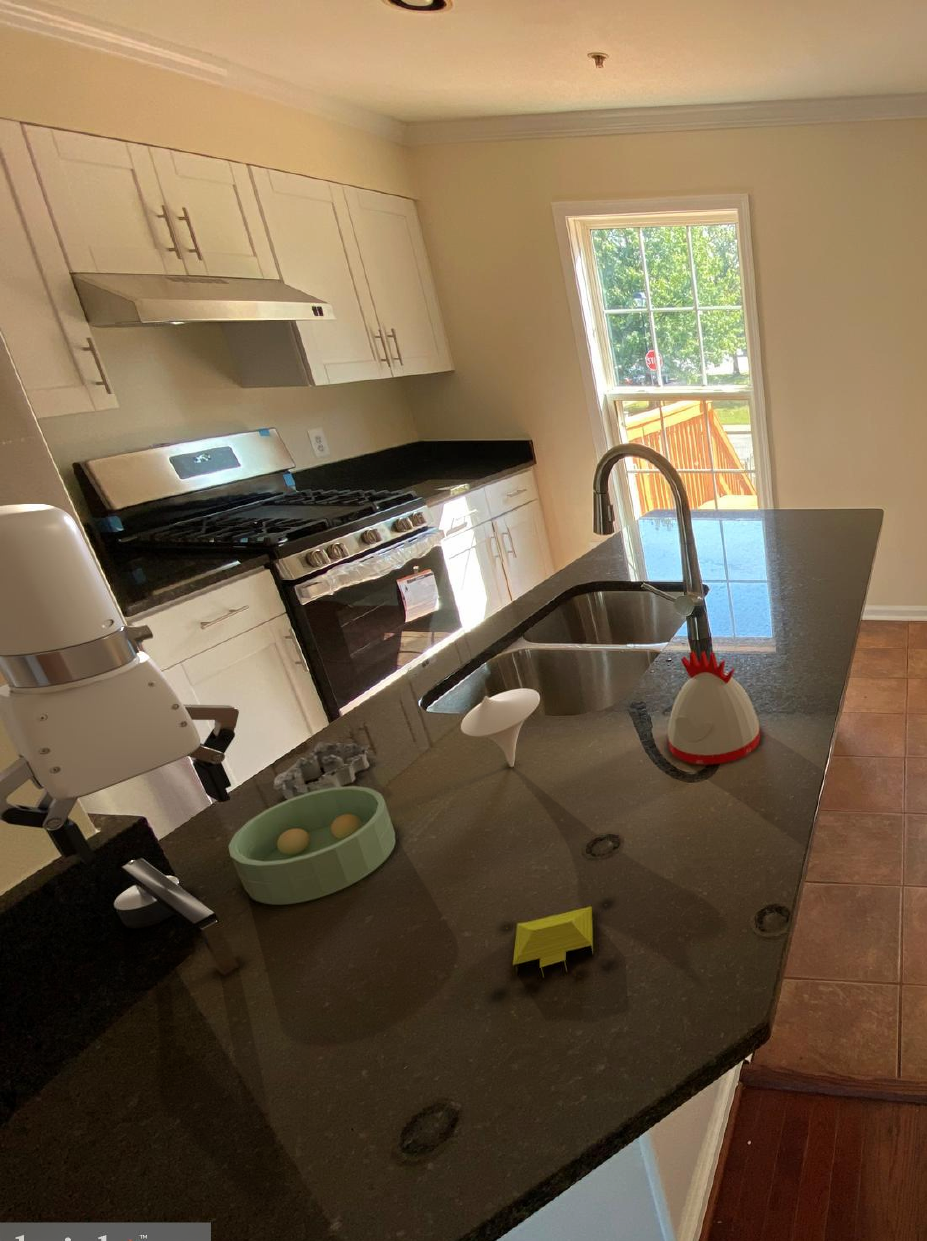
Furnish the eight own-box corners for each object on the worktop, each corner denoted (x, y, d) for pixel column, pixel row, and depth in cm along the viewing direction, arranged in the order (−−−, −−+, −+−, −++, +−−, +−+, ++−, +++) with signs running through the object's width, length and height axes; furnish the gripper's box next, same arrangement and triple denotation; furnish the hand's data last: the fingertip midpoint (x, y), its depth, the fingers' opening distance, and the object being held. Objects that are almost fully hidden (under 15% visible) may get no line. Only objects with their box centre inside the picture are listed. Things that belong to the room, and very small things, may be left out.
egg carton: (331, 805, 92) (321, 779, 90) (273, 805, 92) (262, 779, 90) (379, 760, 102) (372, 736, 100) (327, 760, 102) (318, 736, 100)
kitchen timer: (696, 713, 116) (688, 630, 110) (773, 725, 113) (769, 640, 107) (651, 756, 104) (640, 665, 98) (736, 771, 100) (729, 678, 94)
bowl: (220, 876, 79) (203, 838, 77) (354, 809, 91) (342, 774, 89) (287, 922, 73) (270, 882, 71) (421, 844, 85) (410, 807, 83)
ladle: (115, 917, 74) (88, 868, 71) (175, 888, 78) (151, 840, 75) (199, 990, 66) (172, 937, 63) (261, 953, 70) (238, 902, 67)
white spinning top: (482, 796, 94) (462, 719, 89) (465, 761, 102) (447, 688, 97) (561, 770, 100) (547, 697, 95) (540, 739, 108) (526, 670, 103)
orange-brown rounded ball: (276, 854, 82) (268, 834, 81) (304, 840, 85) (297, 820, 83) (289, 863, 81) (281, 842, 80) (318, 848, 83) (310, 827, 82)
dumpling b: (329, 839, 85) (322, 819, 84) (355, 826, 87) (348, 806, 86) (343, 847, 83) (336, 827, 82) (369, 833, 86) (362, 813, 85)
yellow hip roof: (606, 905, 76) (603, 885, 75) (609, 970, 68) (605, 948, 67) (506, 929, 73) (501, 908, 72) (497, 1000, 65) (491, 977, 64)
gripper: (180, 616, 66) (245, 768, 73) (-111, 691, 52) (4, 870, 59) (219, 630, 63) (283, 787, 70) (-80, 713, 49) (38, 900, 56)
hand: (155, 825), depth 64 cm, fingers open, 9 cm apart
